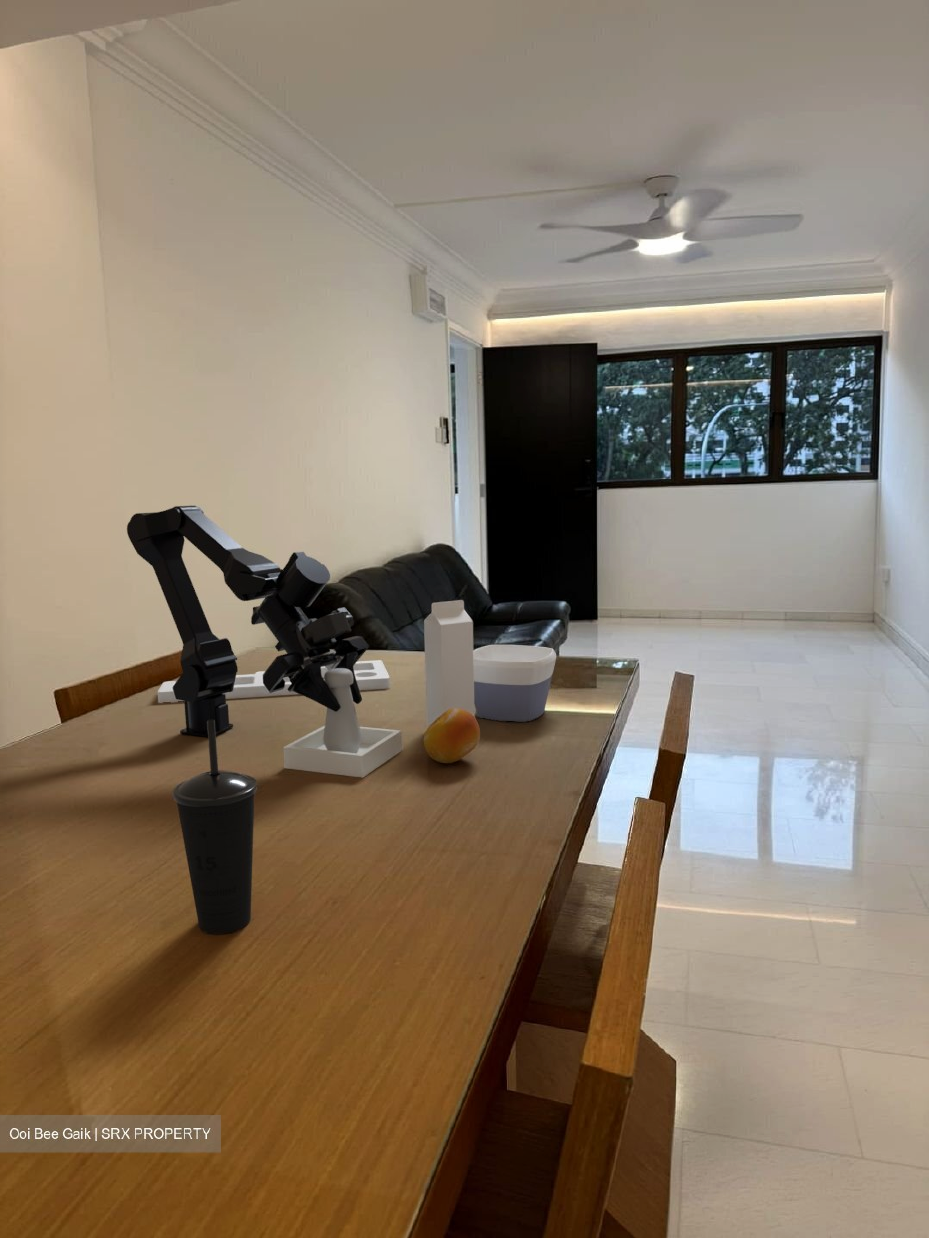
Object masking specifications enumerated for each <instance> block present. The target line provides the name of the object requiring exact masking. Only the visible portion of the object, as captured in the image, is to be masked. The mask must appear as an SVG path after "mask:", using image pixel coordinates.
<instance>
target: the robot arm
mask: <svg viewBox="0 0 929 1238" xmlns="http://www.w3.org/2000/svg"><path fill="white" fill-rule="evenodd" d="M126 532H127V536H128V539H129V540H130V543H131V544H132V546H133V548H134V551H136V554H137V555H138V556H139V557H141V559H143V560H145V562H147V563H148V564H149V565H150V566H151V567H152V568H153V571H154V573H155V576H156V579H157V581H158V583H159V586H160V588H161V590H162V593H163V596H164V598H165V601H166V604H167V606H168V608H169V611H170V614H171V616H172V619H173V621H174V624H175V626H176V628H177V631H178V634H179V636H180V639H181V641H182V650H181V655H180V659H179V662H180V665H181V666H180V667H181V670H182V672H181V674H180V675H179V677H178V678H177V680H175V681H176V683H175V684H174V686H173V691H174V695H175V698H176V699H178V700H183V701H184V717H185V727H184V728H183V729H180V730H179V732H180V734H181V735H184V734H185V735H191V736H199V737H200V736H201V737H208V726H207V721H208V720H215V732H216V735H218V734H221V733H223V732H226V731H227V730H229V729H231V728H234V723H230V716H229V705H228V703H227V699H226V695H225V694H223V693H227V692H232V691H233V688H234V683H235V678H236V675H237V673H238V668H239V667H238V663H237V660H238V657H237V656H236V655H235V653H234V650H233V647H232V643H231V642H230V640H229V639H228V638H227V637H224V638H219V637H217V636H216V635H215V634H214V633H213V632H212V629H211V627H210V625H209V622H208V619H207V617H206V615H205V611H204V610H203V607H202V604H201V602H200V600H199V597H198V594H197V592H196V590H195V587H194V584H193V582H192V579H191V577H190V575H189V571H188V570H187V567H186V564H185V562H184V559H183V557H182V556H183V551H184V546H185V540H187V541H188V542H189V543H191V544H192V545H193V546H194V547H195V548H196V549H197V550H198V551H200V552H201V553H202V554H203V555H204V556H205V557H207V558H208V559H209V560H210V561H211V562H212V563H213V564H214V565H216V567H217V568H219V570H221V572H222V574H223V579H224V583H225V585H226V586H227V587H228V588H229V589H230V591H231V592H232V593H233V595H234V596H235V597H236V598H237V599H239V600H240V601H242V602H249V601H254V600H256V601H257V600H261V599H263V600H262V602H261V603H260V605H258V606H253V607H252V614H251V615H252V616H251V619H250V620H251V621H250V623H251V625H252V626H254V625H259V624H265V625H266V627H267V628H268V629H269V631H270V632H271V633H272V635H273V636H274V638H275V639H276V641H277V643H276V645H274V647H275V649H276V651H277V652H282V651H285V653H283V654H280V655H277V656H276V657H274V660H272V662H271V663H270V664H269V666H268V667H267V669H266V670H265V673H264V674H263V684H264V685H265V687H266V688H267V690H268V691H269V692H270V693H272V692H276V691H279V690H282V689H283V688H284V687H285V681H284V679H283V678H285V677H289V679H290V680H289V681H290V682H291V683H292V684H291V685H290V686H289V688H288V691H289V692H292V691H293V692H296V693H298V694H297V695H300V696H303V697H304V698H305V697H306V698H307V699H309V700H312V701H314V702H316V703H318V704H320V705H321V706H324V707H326V709H327V708H329V709H331V710H333V711H335V712H337V711H338V710H339V709H340V708H341V706H340V704H339V703H338V701H337V699H336V697H335V696H334V694H333V693H332V691H331V690H330V688H329V687H328V685H327V684H326V682H325V681H324V678H322V675H321V667H323V666H325V667H326V668H327V669H328V670H331V669H336V668H345V669H349V670H350V671H351V672H352V673H353V684H351V685H350V689H351V693H352V697H353V702H354V704H356V705H359V704H360V703H361V702H362V701H363V698H362V695H361V692H360V691H361V690H359V687H358V684H357V681H356V678H355V674H354V669H353V666H354V664H355V663H356V662H357V661H359V659H361V657H363V655H364V654H365V652H366V651H367V650H368V649H369V648H370V645H369V644H368V642H367V641H366V640H365V639H364V637H363V636H359V635H355V636H351V637H347V638H344V639H341V640H340V642H339V643H338V644H337V646H336V647H335V648H334V649H333V650H331V649H330V648H331V647H333V646H334V645H335V644H336V643H337V640H336V638H337V637H339V636H341V635H344V634H348V633H350V632H352V629H351V627H353V626H354V624H355V621H354V616H353V615H352V614H351V613H350V612H349V611H348V610H347V608H346V607H339V608H336V610H333V611H331V612H330V614H327V615H324V616H322V617H319V618H316V617H314V618H308V617H307V615H306V614H305V613H304V612H303V609H302V608H308V607H310V606H311V605H312V604H313V602H314V601H315V600H316V598H317V597H318V596H319V594H320V593H321V592H322V590H323V589H324V588H325V587H326V585H327V584H328V583H329V582H330V579H331V574H330V571H329V569H328V568H327V566H326V565H325V564H323V563H321V561H319V560H317V559H316V558H313V557H312V556H307V554H306V552H304V551H294V552H292V554H291V555H290V557H289V558H288V562H286V564H285V566H284V567H283V568H281V567H280V565H278V564H277V563H276V562H274V561H272V560H271V559H269V558H267V557H266V556H264V555H261V554H258V553H255V552H252V551H250V550H247V549H245V548H244V547H242V545H240V544H239V543H238V542H237V541H236V540H235V539H233V538H232V537H231V536H230V535H228V533H226V532H225V531H224V530H223V529H221V528H220V527H219V526H218V525H217V524H216V523H215V522H213V520H211V519H210V518H209V517H208V516H207V515H206V514H205V512H204V511H203V509H202V508H201V507H199V506H196V505H178V506H177V505H175V506H173V507H171V508H168V509H165V510H162V511H157V512H155V511H154V512H139V513H138V512H137V513H134V514H133V515H132V516H131V518H130V520H129V521H128V522H127V525H126Z"/></svg>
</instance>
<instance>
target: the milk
mask: <svg viewBox="0 0 929 1238" xmlns="http://www.w3.org/2000/svg"><path fill="white" fill-rule="evenodd" d="M423 627H424V629H423V633H424V664H425V666H424V668H425V669H424V670H425V671H424V673H425V699H426V700H425V701H426V702H425V705H426V707H425V708H426V730H427V729H428V727H429V726H430V725H431V724H432V723H433V722H434V721H435V720H436V719H437V718H438V717H440V716H441V715H442V714H443V713H445V712H446V711H447V710H449V709H454V708H458V709H463V710H465V711H467V712H469V713H471V714H472V715H473V716H474V717H475V704H474V660H473V650H474V621H473V619H472V618H471V617H470V615H469V614H468V613H467V611H466V610H465V601H464V600H463V599H459V600H450V601H449V600H448V601H439V602H432V603H431V613H430V614H429V615H428V616H426V617H425V619H424V620H423ZM475 718H476V717H475Z"/></svg>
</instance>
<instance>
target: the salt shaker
mask: <svg viewBox="0 0 929 1238" xmlns="http://www.w3.org/2000/svg"><path fill="white" fill-rule="evenodd" d="M323 679H324V680H325V682H326V684H327V685H328V687H329V688H330V690H331V691H332V693H333V694H334V696H335V697H336V699H337V701H338V703H339V704H340V706H341V708H340V709H339V710H338V711H337V712H335V711H333V710H331V709H329V708H327V707H326V714H325V722H324V726H325V729H324V737H323V740H324V744H325V746H326V748H327V750H330V751H339V752H349V753H357V752H358V750H359V747H360V744H361V741H362V735H361V731H360V727H361V726H360V723H359V718H358V714H357V711H356V706H355V702H353V697H352V693H351V689H350V685H351V684H353V673H352V672H351V671H350V670H349V669H345V668H336V669H331V670H328V671H327V672H326V673H325V676H324V678H323Z"/></svg>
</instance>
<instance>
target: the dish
mask: <svg viewBox="0 0 929 1238" xmlns="http://www.w3.org/2000/svg"><path fill="white" fill-rule="evenodd" d="M324 729H325V725H322V726H321V727H319V728H317V729H315V730H313V731H311V732H310V733H308V734H305V735H304V736H302V737H300V738H298V739H296V740H295V741H292V742H291V743H289V744H287V745H285V746H283V765H284V766H283V767H284V769H290V770H298V771H305V772H313V773H322V774H329V775H330V774H331V775H336V776H337V775H339V776H347V777H354V778H364V777H366V776H367V775H369V774H370V773H372V772H373V771H374V770H376V769H377V768H379V767H381V766H382V765H383V764H385V763H387V761H389V760H390V759H392V758H393V757H395V756H396V755H398V754H399V753H401V752H402V751H403V740H402V739H403V738H402V737H403V736H402V730H397V729H387V728H377V727H365V726H360V731H361V735H362V741H361V744H360V747H359V750H358V752H357V753H349V752H339V751H330V750H327V748H326V746H325V744H324V740H323V737H324Z"/></svg>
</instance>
